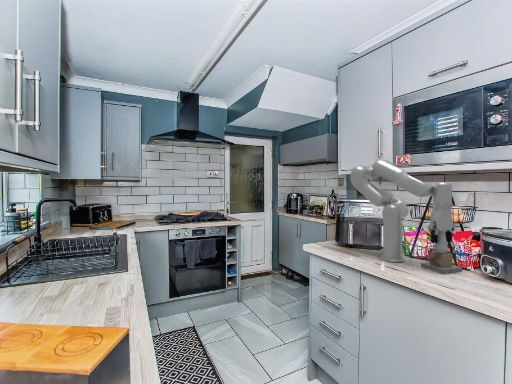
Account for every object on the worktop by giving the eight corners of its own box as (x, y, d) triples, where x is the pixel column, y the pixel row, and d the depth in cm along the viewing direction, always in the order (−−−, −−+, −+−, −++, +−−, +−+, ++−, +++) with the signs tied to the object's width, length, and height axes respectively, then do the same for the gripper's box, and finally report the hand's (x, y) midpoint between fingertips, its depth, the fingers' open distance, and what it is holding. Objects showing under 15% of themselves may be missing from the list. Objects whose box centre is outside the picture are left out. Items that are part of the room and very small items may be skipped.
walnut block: (429, 264, 134) (430, 252, 134) (439, 262, 136) (439, 251, 136) (442, 267, 128) (442, 255, 128) (452, 266, 130) (452, 254, 130)
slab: (420, 266, 136) (420, 263, 136) (437, 264, 140) (437, 260, 140) (444, 274, 124) (444, 270, 124) (462, 271, 128) (462, 267, 128)
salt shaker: (431, 252, 134) (431, 226, 133) (438, 251, 136) (439, 225, 135) (442, 255, 128) (443, 228, 128) (450, 254, 130) (451, 227, 130)
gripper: (447, 206, 138) (446, 239, 138) (422, 207, 132) (421, 241, 132) (462, 207, 130) (461, 242, 131) (436, 208, 125) (435, 244, 125)
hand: (441, 241), depth 132 cm, fingers open, 9 cm apart
